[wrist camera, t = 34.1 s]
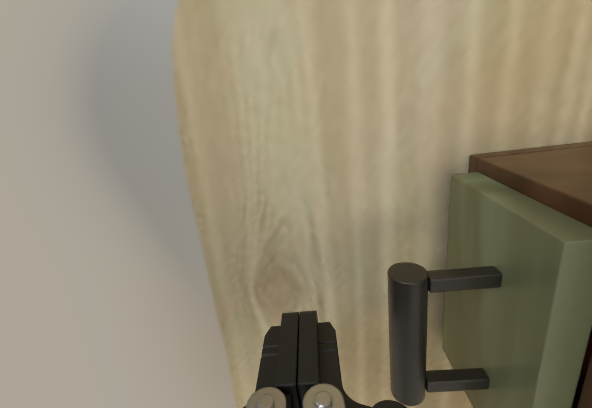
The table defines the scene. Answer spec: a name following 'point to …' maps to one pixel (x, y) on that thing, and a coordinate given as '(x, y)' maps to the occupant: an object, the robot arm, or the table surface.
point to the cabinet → (548, 189)
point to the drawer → (497, 303)
